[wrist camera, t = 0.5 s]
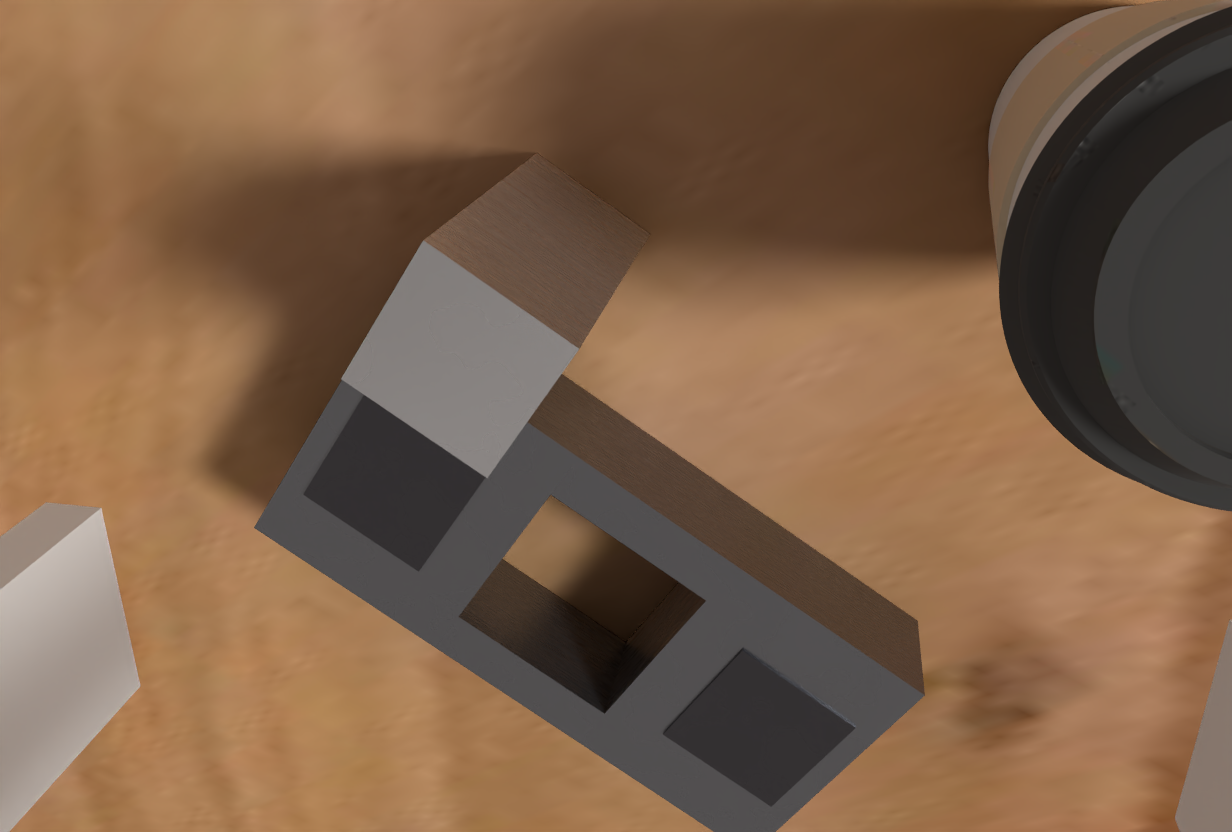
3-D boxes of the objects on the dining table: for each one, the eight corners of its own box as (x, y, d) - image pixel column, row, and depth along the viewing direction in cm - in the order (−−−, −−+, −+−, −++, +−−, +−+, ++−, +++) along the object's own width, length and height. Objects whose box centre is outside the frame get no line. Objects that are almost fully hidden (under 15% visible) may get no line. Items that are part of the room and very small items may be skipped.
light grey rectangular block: (469, 261, 35) (340, 379, 26) (536, 152, 34) (423, 240, 25) (577, 337, 36) (487, 478, 27) (650, 234, 34) (579, 348, 25)
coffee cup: (1101, 356, 33) (1274, 663, 19) (877, 152, 32) (897, 328, 18) (1381, 121, 29) (1841, 300, 16) (1138, -121, 28) (1407, -154, 14)
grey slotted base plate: (307, 472, 40) (252, 529, 36) (424, 279, 36) (376, 320, 32) (758, 774, 42) (749, 857, 38) (917, 620, 38) (924, 697, 34)
